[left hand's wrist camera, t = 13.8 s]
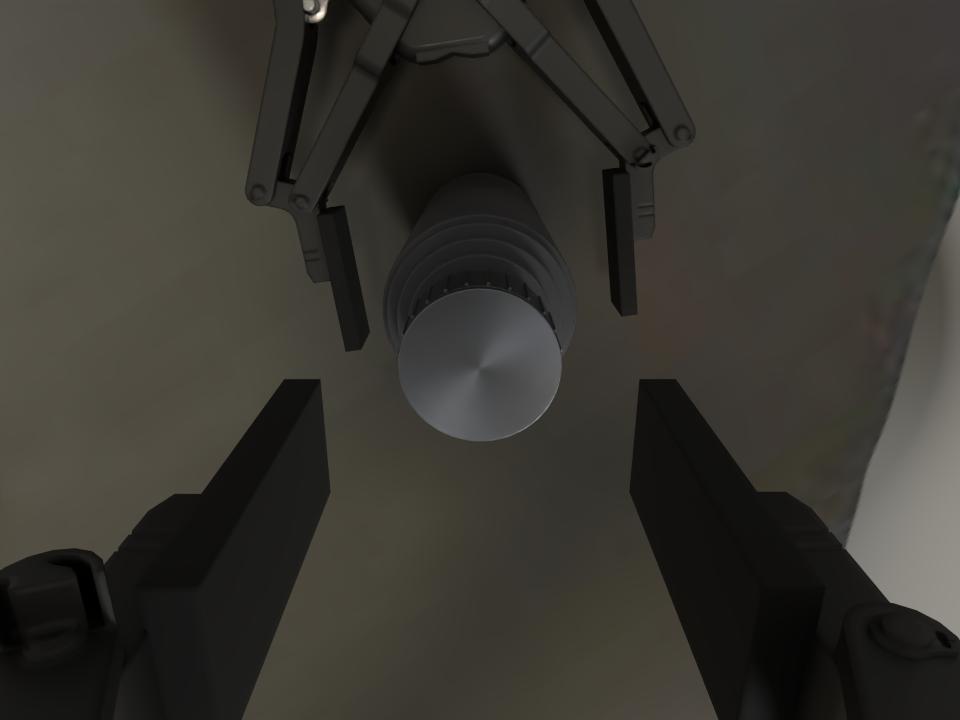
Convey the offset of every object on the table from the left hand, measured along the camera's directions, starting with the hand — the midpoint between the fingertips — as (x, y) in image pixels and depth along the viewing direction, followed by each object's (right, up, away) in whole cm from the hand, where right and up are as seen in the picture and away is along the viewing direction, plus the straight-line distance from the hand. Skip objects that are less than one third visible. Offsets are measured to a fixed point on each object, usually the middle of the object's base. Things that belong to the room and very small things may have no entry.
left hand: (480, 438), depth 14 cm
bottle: (0, +9, +24) cm, 25 cm away
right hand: (0, +3, +19) cm, 19 cm away
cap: (0, +2, +4) cm, 4 cm away
